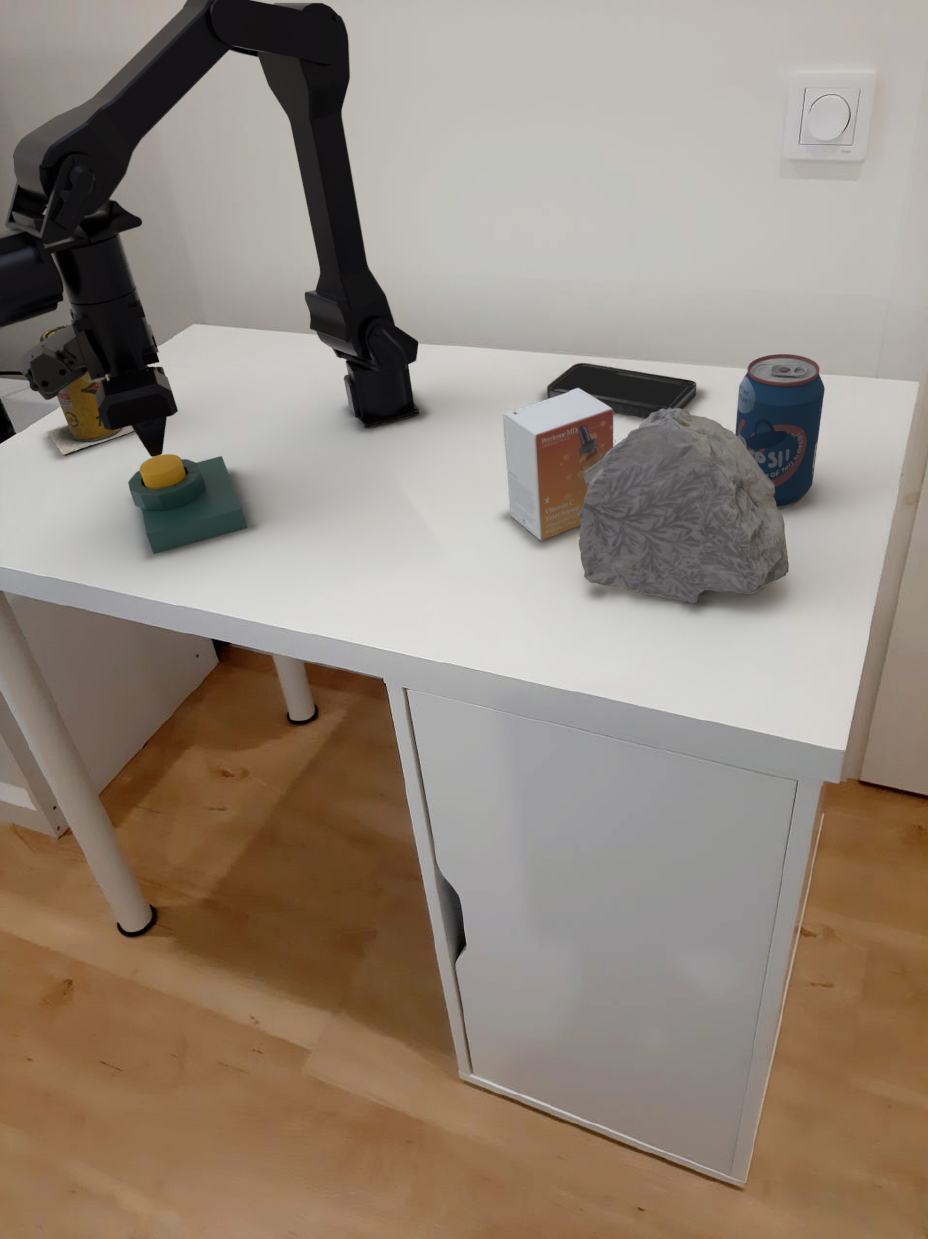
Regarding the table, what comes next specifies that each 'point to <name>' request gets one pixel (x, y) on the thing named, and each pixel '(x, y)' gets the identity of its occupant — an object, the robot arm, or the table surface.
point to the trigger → (162, 471)
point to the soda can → (782, 421)
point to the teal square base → (189, 506)
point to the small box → (554, 459)
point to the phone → (625, 388)
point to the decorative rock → (682, 513)
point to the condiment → (80, 413)
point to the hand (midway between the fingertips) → (156, 454)
